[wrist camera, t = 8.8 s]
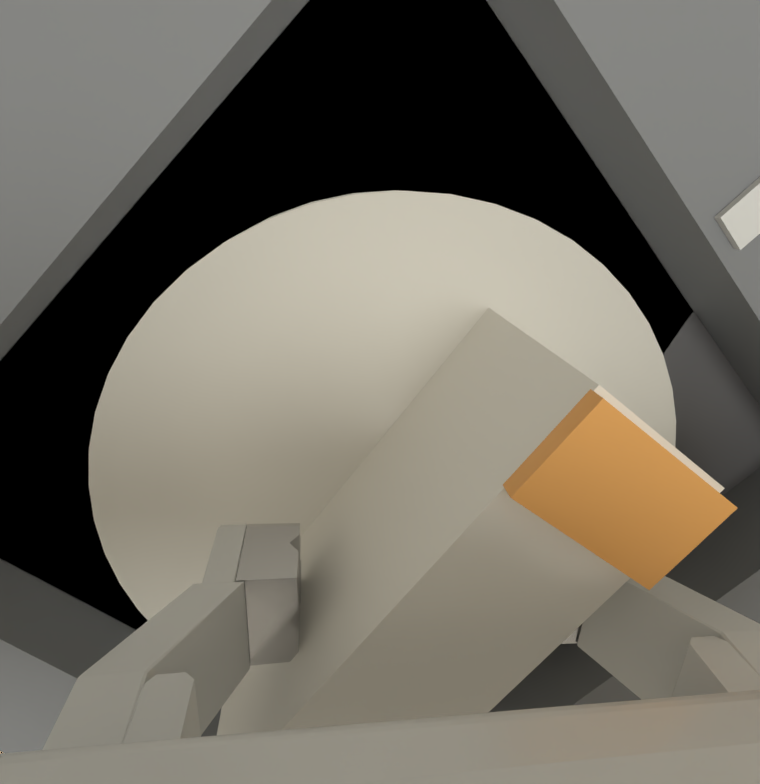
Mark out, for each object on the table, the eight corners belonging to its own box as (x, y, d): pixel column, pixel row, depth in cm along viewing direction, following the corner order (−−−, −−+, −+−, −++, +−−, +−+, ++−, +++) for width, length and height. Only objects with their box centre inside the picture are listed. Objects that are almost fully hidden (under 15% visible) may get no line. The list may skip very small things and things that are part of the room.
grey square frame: (912, 437, 15) (1027, 486, 13) (377, 829, 19) (386, 924, 17) (412, -460, 8) (458, -758, 5) (-295, 485, 12) (-458, 565, 9)
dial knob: (424, 716, 16) (481, 992, 11) (14, 532, 12) (-236, 817, 7) (736, 408, 14) (1036, 567, 8) (330, 37, 10) (351, -181, 4)
